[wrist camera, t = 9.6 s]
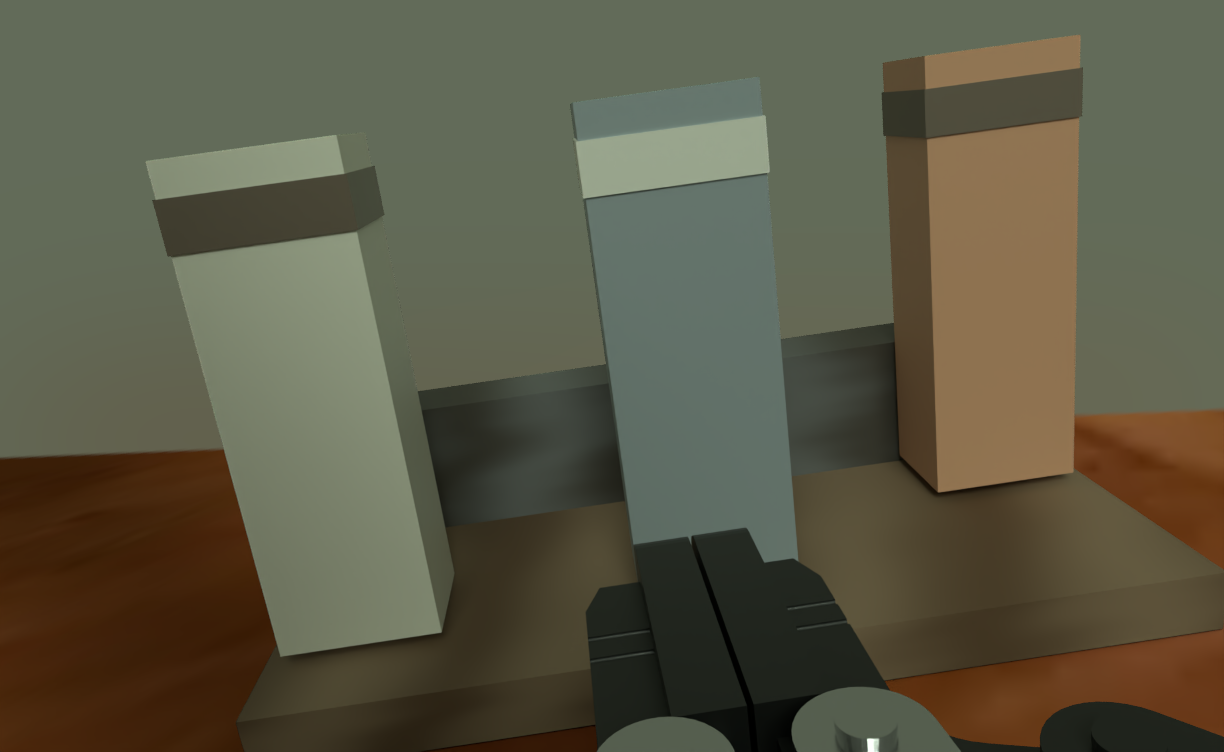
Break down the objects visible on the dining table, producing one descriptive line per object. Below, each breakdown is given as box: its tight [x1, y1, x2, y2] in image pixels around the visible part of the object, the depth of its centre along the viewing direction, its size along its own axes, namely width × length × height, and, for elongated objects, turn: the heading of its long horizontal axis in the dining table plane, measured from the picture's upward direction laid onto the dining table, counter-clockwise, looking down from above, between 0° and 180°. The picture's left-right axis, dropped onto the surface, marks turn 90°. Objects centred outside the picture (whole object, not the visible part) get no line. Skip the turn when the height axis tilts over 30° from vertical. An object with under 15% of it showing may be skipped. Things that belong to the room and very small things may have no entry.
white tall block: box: [146, 133, 455, 657], centre depth 22 cm, size 4×3×12 cm
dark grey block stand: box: [236, 323, 1224, 752], centre depth 25 cm, size 23×11×6 cm, turn 94°
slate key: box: [570, 77, 798, 581], centre depth 22 cm, size 4×3×12 cm
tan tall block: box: [882, 35, 1083, 492], centre depth 26 cm, size 4×3×12 cm
